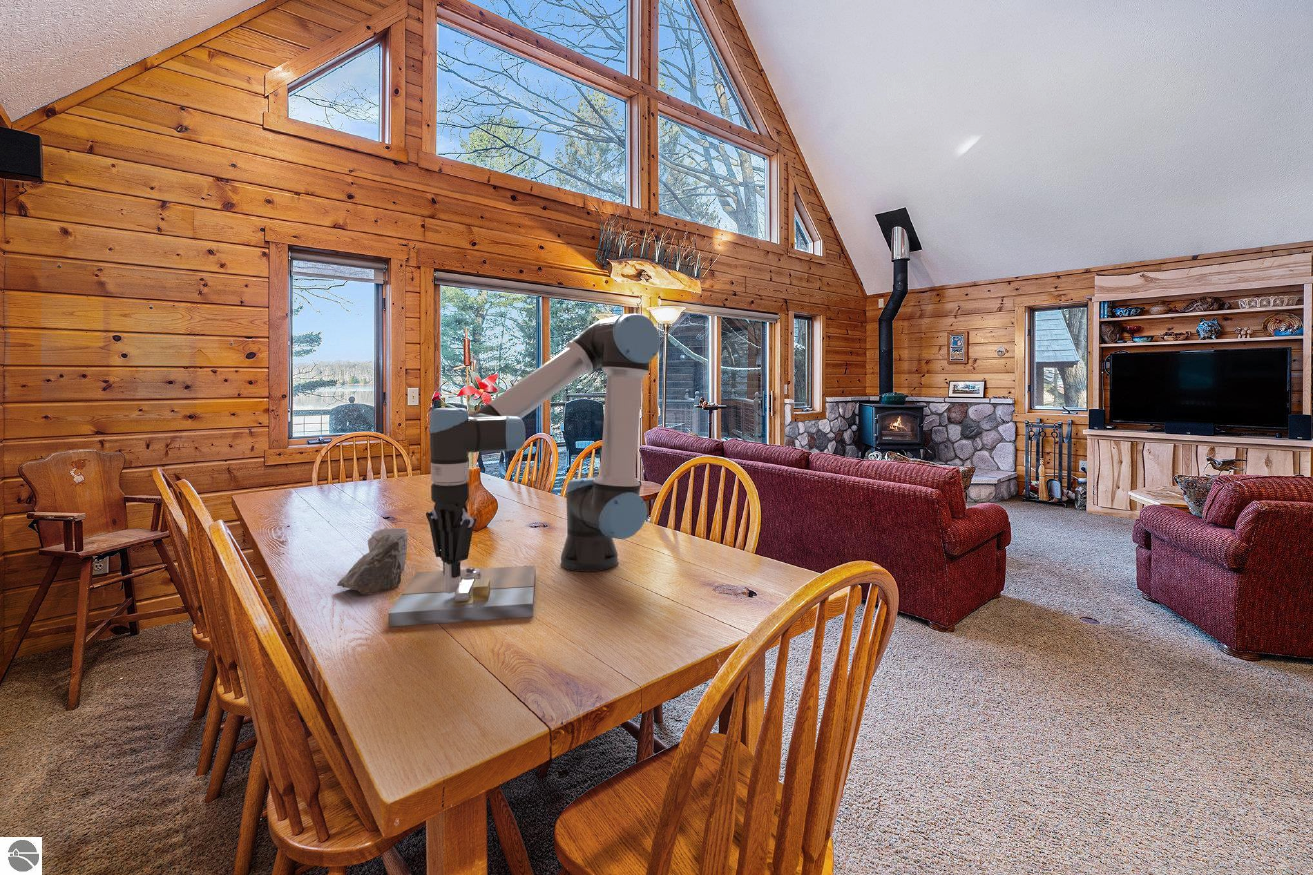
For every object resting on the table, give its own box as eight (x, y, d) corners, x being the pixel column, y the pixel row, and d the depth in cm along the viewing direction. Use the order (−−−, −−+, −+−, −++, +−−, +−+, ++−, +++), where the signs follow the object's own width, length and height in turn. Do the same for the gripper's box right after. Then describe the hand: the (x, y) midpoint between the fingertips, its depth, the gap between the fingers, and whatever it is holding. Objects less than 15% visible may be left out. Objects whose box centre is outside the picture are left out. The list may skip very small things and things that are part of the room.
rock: (347, 591, 131) (365, 525, 136) (333, 593, 135) (350, 529, 141) (399, 599, 139) (413, 536, 145) (384, 600, 144) (398, 539, 149)
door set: (535, 576, 147) (535, 553, 146) (532, 616, 122) (532, 588, 121) (417, 583, 142) (416, 559, 141) (388, 626, 117) (387, 597, 116)
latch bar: (462, 580, 135) (462, 566, 134) (482, 579, 135) (481, 565, 135) (450, 602, 121) (449, 586, 121) (472, 601, 122) (472, 585, 122)
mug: (356, 571, 151) (355, 533, 150) (383, 562, 159) (381, 525, 158) (390, 577, 146) (389, 537, 146) (416, 567, 154) (414, 529, 153)
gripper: (414, 481, 123) (417, 590, 125) (457, 488, 116) (459, 603, 119) (443, 476, 129) (445, 580, 132) (485, 482, 123) (487, 591, 125)
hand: (452, 591), depth 125 cm, fingers closed
